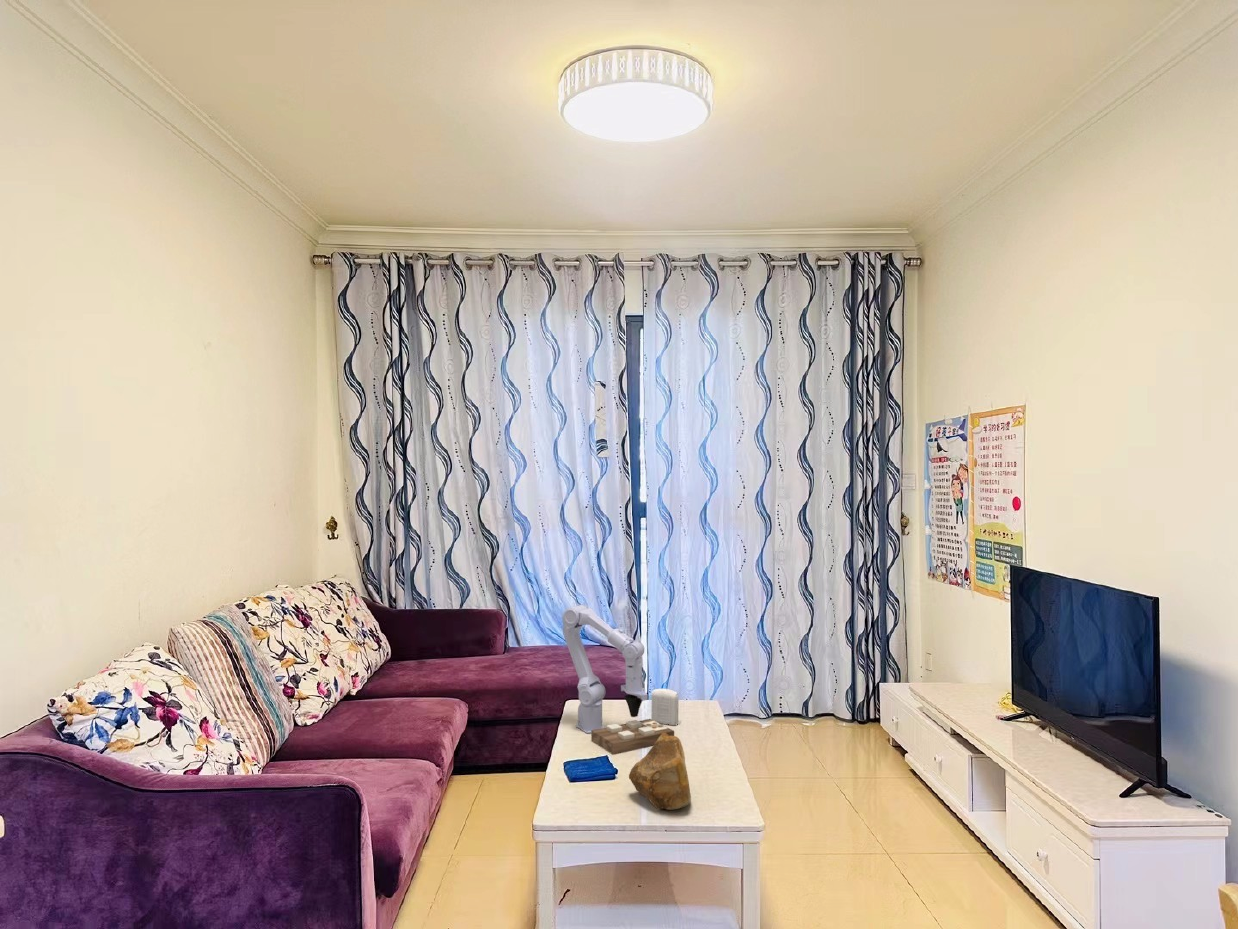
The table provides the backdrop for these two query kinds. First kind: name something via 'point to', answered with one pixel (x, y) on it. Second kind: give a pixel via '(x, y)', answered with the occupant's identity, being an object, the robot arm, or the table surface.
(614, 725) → the button
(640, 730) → the button
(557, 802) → the table surface
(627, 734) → the button
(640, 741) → the button board
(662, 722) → the photo printer
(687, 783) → the rough brown rock
